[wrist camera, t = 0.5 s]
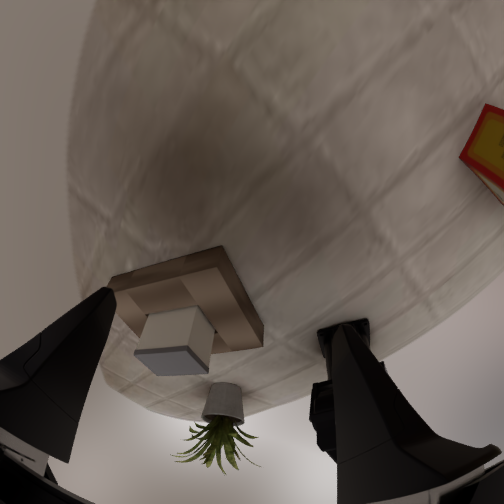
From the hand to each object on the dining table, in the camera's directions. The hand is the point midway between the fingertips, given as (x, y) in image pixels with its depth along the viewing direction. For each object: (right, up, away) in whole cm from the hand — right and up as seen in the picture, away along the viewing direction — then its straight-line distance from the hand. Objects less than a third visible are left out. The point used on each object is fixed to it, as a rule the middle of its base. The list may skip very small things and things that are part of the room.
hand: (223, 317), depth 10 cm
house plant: (-5, -21, +33) cm, 39 cm away
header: (-6, -3, +20) cm, 21 cm away
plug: (-6, -3, +20) cm, 21 cm away
